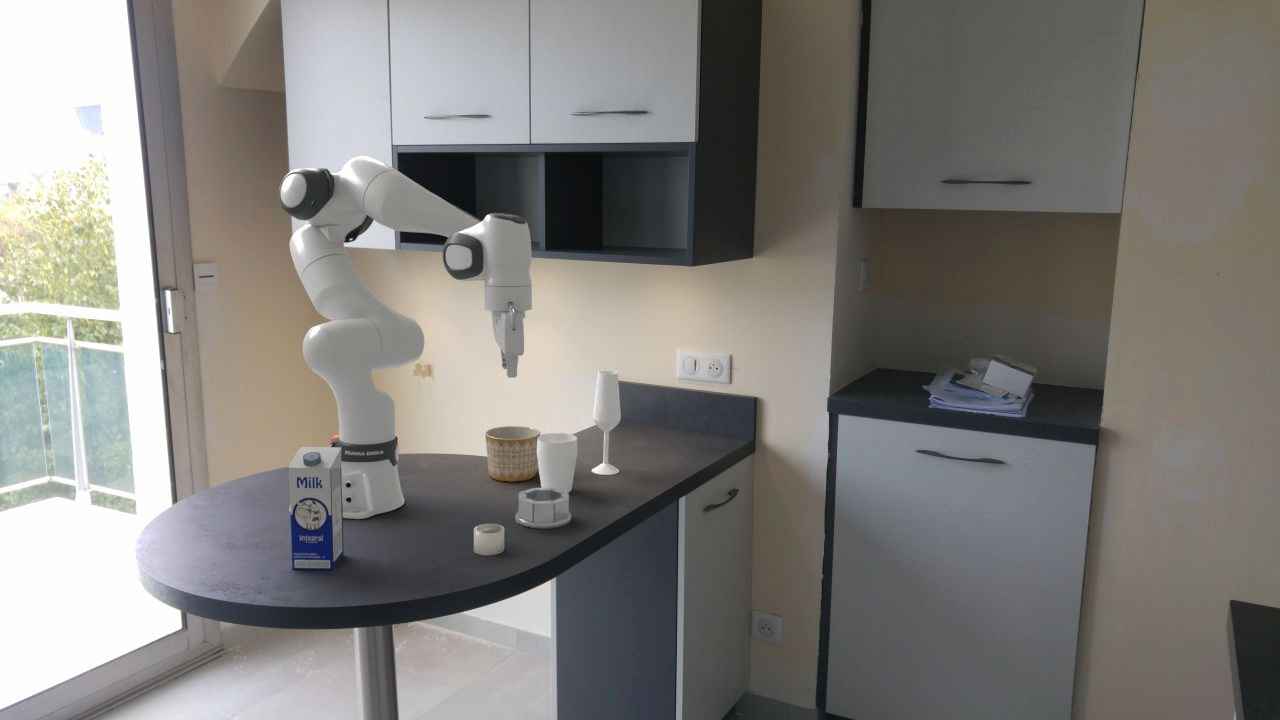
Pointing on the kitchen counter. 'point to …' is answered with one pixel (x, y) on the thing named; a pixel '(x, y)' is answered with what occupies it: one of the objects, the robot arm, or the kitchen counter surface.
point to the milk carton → (316, 508)
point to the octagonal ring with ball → (543, 508)
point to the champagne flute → (606, 413)
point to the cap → (488, 539)
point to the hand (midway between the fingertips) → (509, 372)
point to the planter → (512, 453)
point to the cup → (557, 460)
